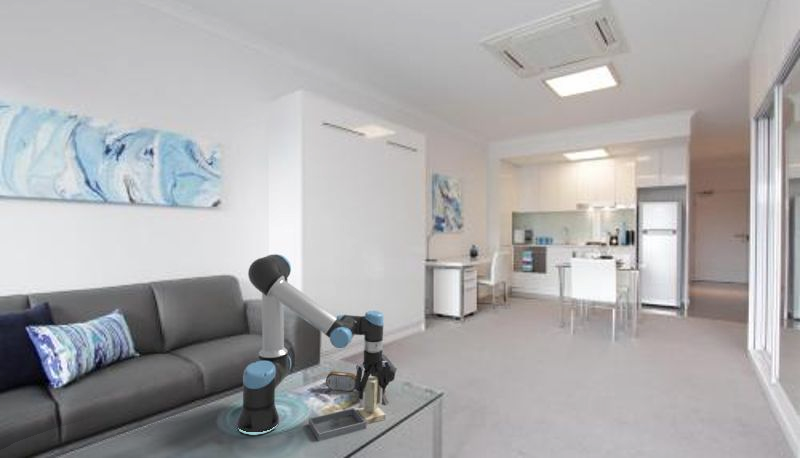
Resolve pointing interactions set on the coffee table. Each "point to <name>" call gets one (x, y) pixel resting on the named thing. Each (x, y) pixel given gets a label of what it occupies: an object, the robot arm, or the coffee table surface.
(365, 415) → the pad
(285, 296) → the robot arm
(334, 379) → the portable speaker
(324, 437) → the tray
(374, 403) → the skincare box
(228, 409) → the coffee table surface
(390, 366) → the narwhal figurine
